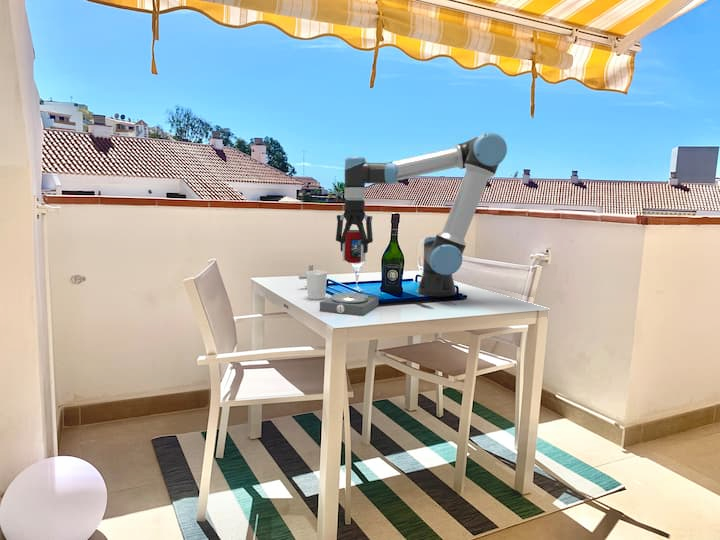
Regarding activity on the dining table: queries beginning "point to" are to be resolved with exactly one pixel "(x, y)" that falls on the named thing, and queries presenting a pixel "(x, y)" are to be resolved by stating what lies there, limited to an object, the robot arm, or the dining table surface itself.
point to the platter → (349, 298)
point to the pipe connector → (305, 274)
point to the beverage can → (353, 246)
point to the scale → (349, 306)
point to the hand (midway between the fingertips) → (353, 260)
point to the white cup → (316, 284)
